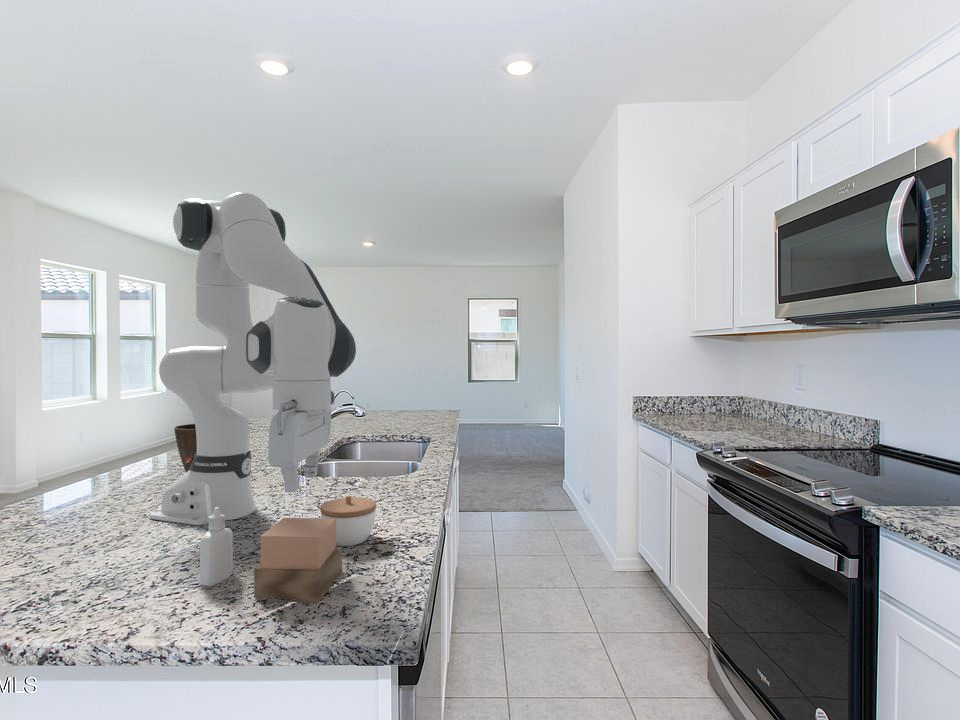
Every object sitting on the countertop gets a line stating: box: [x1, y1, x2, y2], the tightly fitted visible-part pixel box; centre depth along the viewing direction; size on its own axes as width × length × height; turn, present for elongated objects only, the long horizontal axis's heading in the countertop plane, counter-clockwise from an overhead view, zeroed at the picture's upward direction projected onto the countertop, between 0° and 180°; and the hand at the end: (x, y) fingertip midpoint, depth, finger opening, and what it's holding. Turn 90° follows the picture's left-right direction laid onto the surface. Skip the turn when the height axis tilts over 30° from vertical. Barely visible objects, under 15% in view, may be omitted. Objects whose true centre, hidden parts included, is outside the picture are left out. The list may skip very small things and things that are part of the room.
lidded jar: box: [320, 495, 377, 547], centre depth 105 cm, size 11×11×9 cm
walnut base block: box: [253, 547, 343, 604], centre depth 86 cm, size 10×10×5 cm
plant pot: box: [173, 423, 197, 473], centre depth 158 cm, size 15×15×16 cm
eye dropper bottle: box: [199, 507, 234, 587], centre depth 88 cm, size 4×6×12 cm
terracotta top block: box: [259, 517, 337, 569], centre depth 85 cm, size 9×9×5 cm
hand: (301, 483), depth 85 cm, fingers open, 8 cm apart
